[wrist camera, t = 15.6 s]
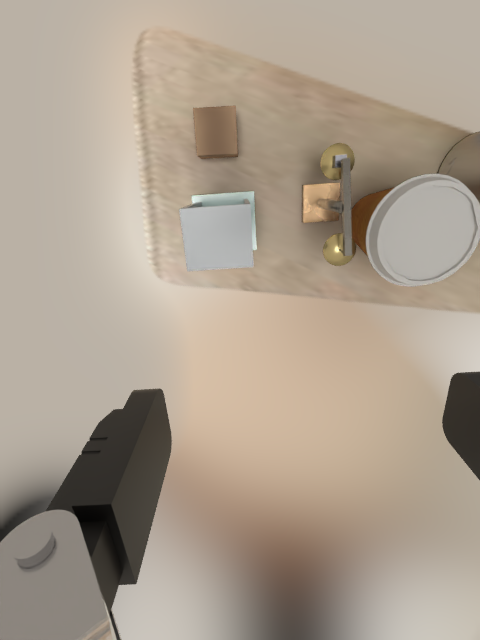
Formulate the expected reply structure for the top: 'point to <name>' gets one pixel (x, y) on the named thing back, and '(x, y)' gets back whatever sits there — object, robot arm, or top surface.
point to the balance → (333, 202)
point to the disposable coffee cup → (418, 229)
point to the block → (216, 132)
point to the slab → (230, 200)
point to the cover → (217, 236)
